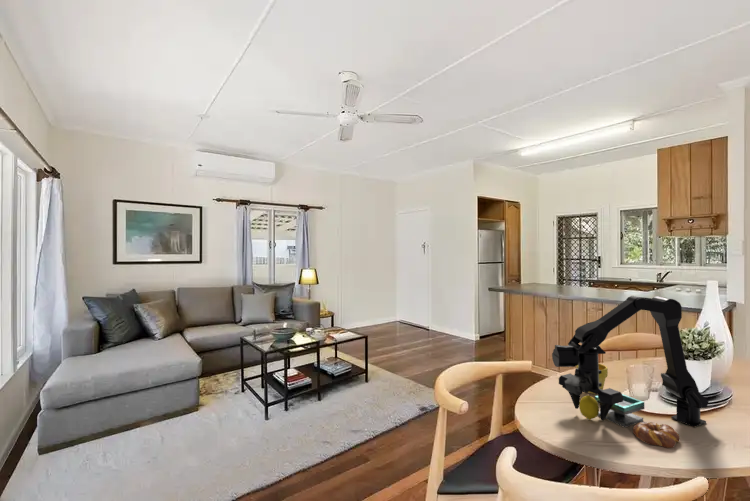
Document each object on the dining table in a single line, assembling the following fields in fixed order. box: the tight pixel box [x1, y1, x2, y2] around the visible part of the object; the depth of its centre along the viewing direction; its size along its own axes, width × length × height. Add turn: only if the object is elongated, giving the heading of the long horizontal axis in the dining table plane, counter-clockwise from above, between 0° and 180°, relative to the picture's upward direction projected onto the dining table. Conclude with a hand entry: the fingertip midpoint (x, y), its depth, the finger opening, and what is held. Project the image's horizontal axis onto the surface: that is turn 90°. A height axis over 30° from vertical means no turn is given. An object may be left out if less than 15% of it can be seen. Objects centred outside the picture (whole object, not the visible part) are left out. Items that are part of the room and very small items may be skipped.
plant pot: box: [575, 362, 609, 395], centre depth 140 cm, size 10×10×10 cm
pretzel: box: [632, 421, 681, 449], centre depth 106 cm, size 12×11×4 cm
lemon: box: [578, 394, 600, 421], centre depth 118 cm, size 6×6×8 cm
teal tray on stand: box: [594, 393, 645, 428], centre depth 118 cm, size 10×10×6 cm
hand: (589, 414), depth 118 cm, fingers open, 9 cm apart
